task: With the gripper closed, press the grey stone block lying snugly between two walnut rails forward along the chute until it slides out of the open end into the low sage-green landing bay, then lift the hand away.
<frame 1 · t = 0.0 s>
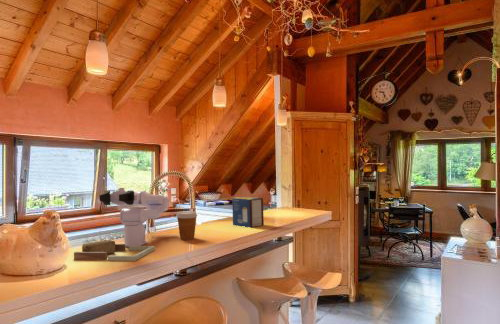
hand: (110, 197, 134), 22 cm above the worktop, tool horizontal, fingers open, 7 cm apart
protein box: (248, 225, 202), on the worktop
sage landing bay: (131, 254, 135), on the worktop
walnut chute: (101, 254, 136), on the worktop
disposable coffee cup: (187, 239, 165), on the worktop
stone block: (98, 255, 137), on the worktop
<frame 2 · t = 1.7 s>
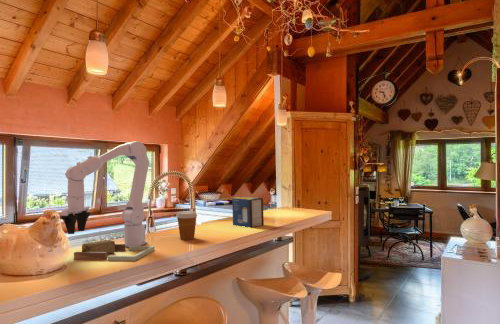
hand: (76, 232, 138), 8 cm above the worktop, tool pointing down, fingers open, 6 cm apart
nothing on the worktop moved.
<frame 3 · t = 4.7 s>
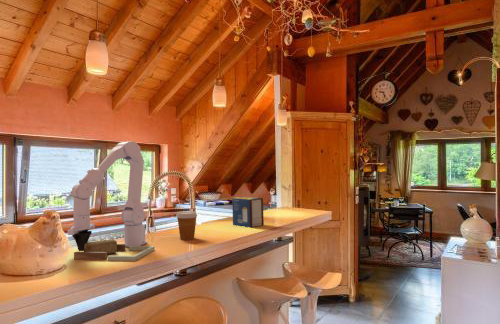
hand: (82, 250, 137), 1 cm above the worktop, tool pointing down, fingers closed
stone block: (100, 254, 137), on the worktop, touching gripper
everything else where it was.
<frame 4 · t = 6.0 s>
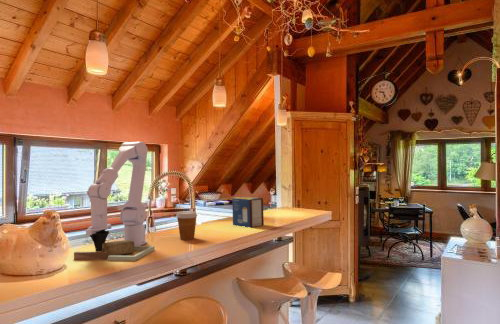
hand: (99, 250, 137), 1 cm above the worktop, tool pointing down, fingers closed
stone block: (117, 255, 136), on the worktop, touching gripper
everything else where it was.
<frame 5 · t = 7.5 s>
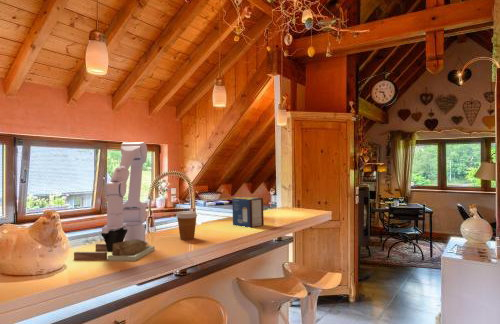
hand: (114, 250, 135), 2 cm above the worktop, tool pointing down, fingers open, 5 cm apart
stone block: (128, 255, 133), on the worktop, touching gripper, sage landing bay
everything else where it was.
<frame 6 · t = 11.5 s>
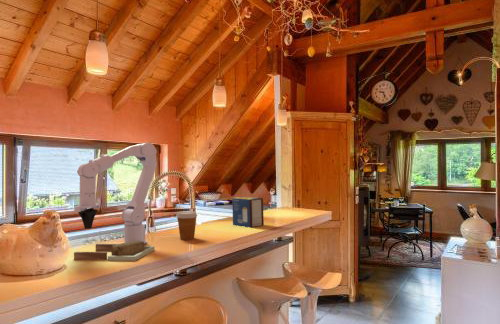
hand: (88, 228, 140), 9 cm above the worktop, tool pointing down, fingers closed
stone block: (127, 256, 134), on the worktop
everything else where it was.
at the end: stone block inside the target area (2.3 cm from its centre), on the worktop; stone block tilted 0°; stone block moved 12.5 cm from its start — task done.
